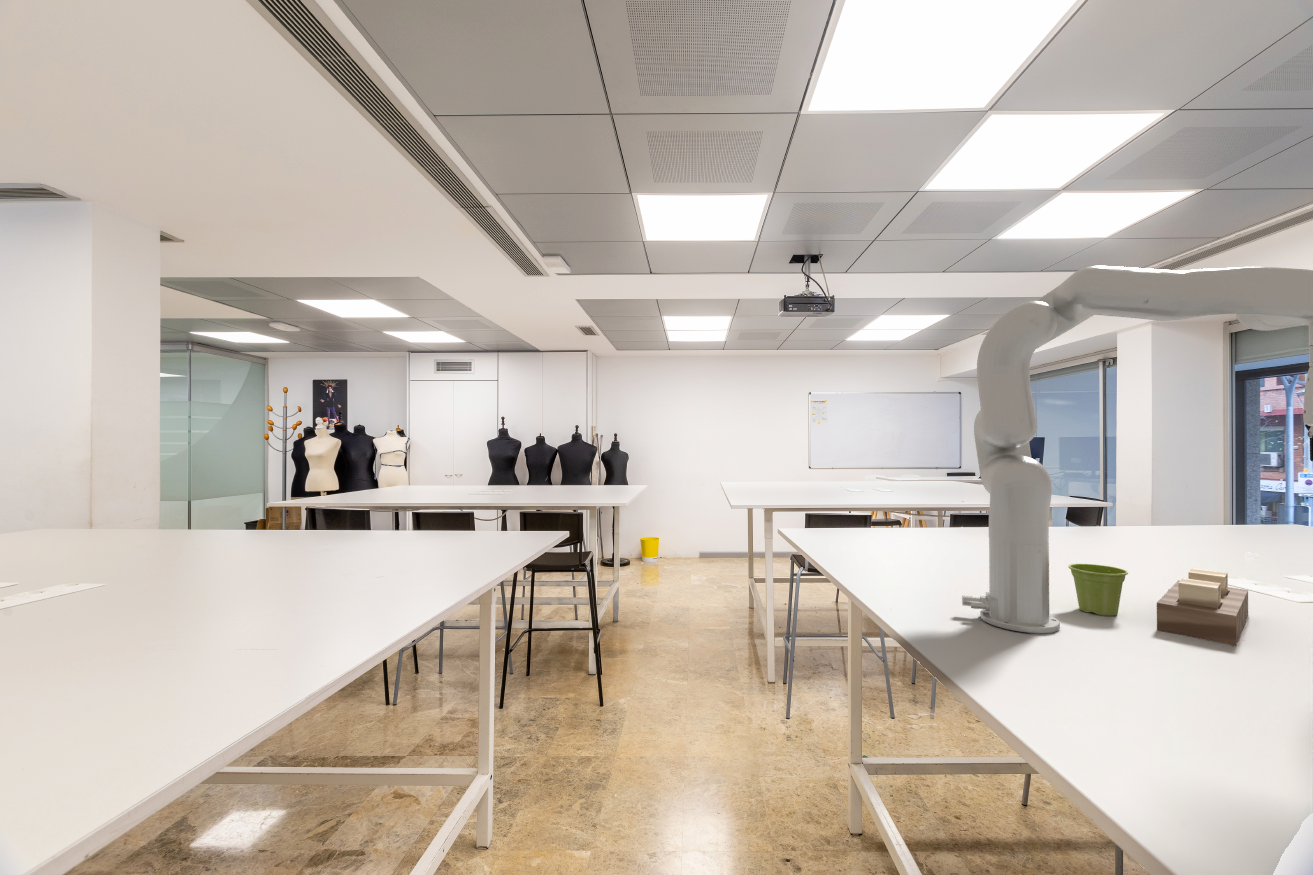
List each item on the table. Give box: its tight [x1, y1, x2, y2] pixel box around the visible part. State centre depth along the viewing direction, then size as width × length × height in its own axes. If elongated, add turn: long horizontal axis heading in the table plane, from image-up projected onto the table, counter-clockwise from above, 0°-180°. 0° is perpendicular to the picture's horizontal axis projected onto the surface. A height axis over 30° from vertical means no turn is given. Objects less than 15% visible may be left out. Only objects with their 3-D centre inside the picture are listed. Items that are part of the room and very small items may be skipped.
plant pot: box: [1068, 563, 1129, 617], centre depth 112 cm, size 9×9×9 cm
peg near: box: [1178, 577, 1221, 609], centre depth 101 cm, size 5×5×5 cm
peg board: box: [1156, 579, 1249, 646], centre depth 105 cm, size 24×10×5 cm, turn 130°
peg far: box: [1187, 567, 1229, 596], centre depth 109 cm, size 5×5×5 cm
